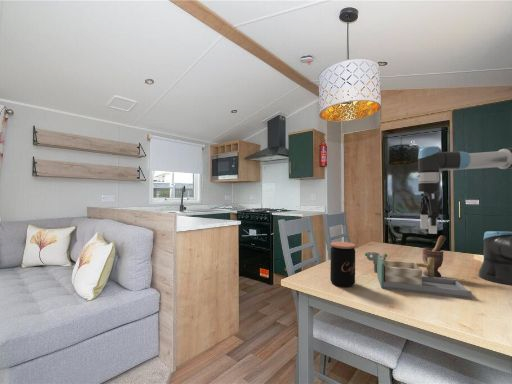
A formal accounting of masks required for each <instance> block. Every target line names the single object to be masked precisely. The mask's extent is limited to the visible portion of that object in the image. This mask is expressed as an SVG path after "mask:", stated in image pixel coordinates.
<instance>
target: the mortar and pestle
mask: <svg viewBox="0 0 512 384" xmlns="http://www.w3.org/2000/svg"><path fill="white" fill-rule="evenodd" d="M446 240H447V237H446V235H442V234H441V235H440V236H438V238H437V241H436V244H435V246H434V248H433V247H422V254H421V255H422V261H423V264H428V258H434V277H437V278H442V274H441V273H440V271H439V270H438V269H439V268H441V267H442V265H443V261H444V250H442V249H441V248H442V246H443V245H444V244H445V241H446ZM422 275H423V276H427V268H426V270H424V271H422ZM427 277H428V276H427Z"/></svg>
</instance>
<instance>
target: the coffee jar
mask: <svg viewBox="0 0 512 384" xmlns="http://www.w3.org/2000/svg"><path fill="white" fill-rule="evenodd" d="M330 246H331V247H330V270H329V271H330V278H329V279H330V282H331V284H332V285H334V286H336V287H338V288H339V287H340V288H352V287H354V285H355V284H356V250H355V248H356V244H355V243H352V242H349V241H333V242H330Z"/></svg>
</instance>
